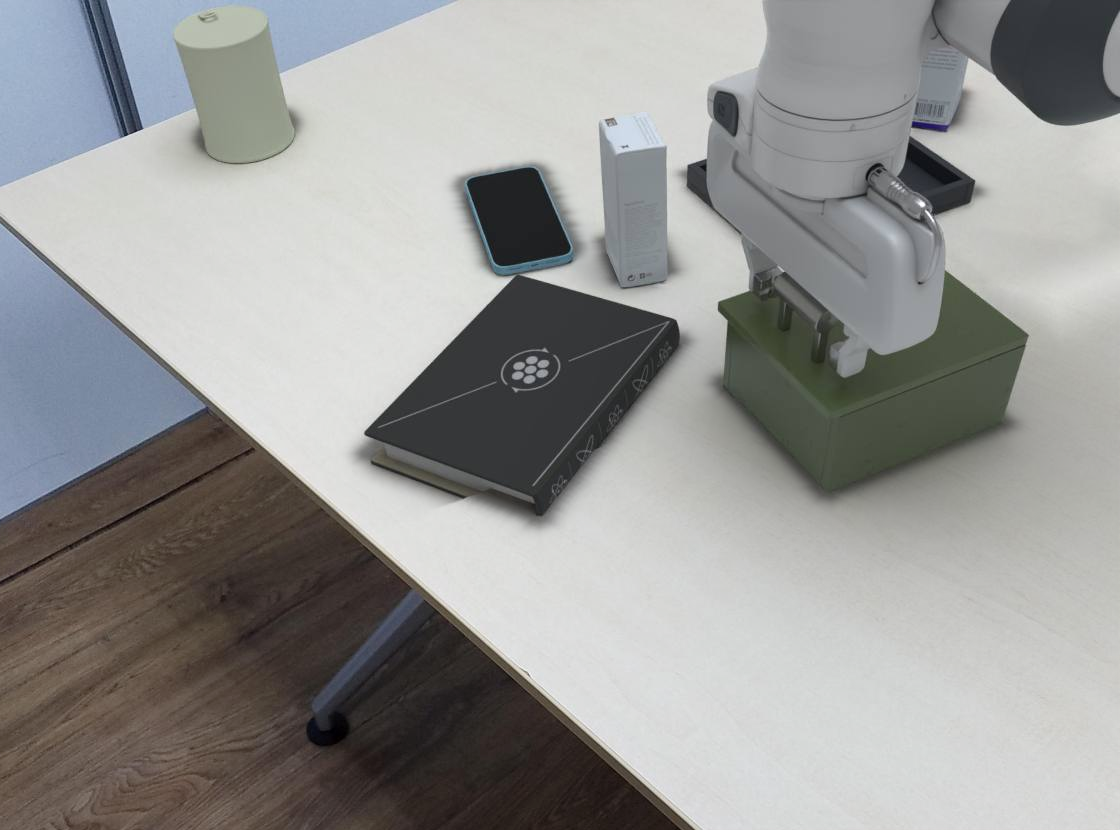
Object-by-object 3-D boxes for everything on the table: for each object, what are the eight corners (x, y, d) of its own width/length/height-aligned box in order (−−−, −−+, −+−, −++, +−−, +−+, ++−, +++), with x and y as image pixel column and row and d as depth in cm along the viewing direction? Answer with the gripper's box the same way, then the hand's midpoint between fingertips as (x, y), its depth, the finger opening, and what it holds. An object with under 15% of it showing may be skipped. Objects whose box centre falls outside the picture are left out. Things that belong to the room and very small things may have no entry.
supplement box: (960, 103, 113) (987, -21, 105) (947, 132, 110) (974, 7, 101) (900, 95, 115) (921, -27, 107) (885, 124, 112) (907, 0, 103)
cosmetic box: (669, 281, 98) (673, 145, 89) (617, 290, 98) (615, 155, 89) (650, 242, 102) (652, 108, 93) (600, 250, 102) (597, 117, 93)
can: (267, 109, 124) (238, -9, 115) (311, 140, 119) (284, 19, 109) (190, 140, 120) (153, 22, 111) (232, 174, 115) (197, 52, 106)
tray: (864, 127, 112) (867, 106, 110) (970, 202, 102) (976, 180, 101) (686, 185, 108) (687, 164, 106) (779, 269, 98) (782, 247, 96)
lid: (828, 421, 74) (838, 358, 70) (717, 310, 82) (720, 249, 78) (1026, 344, 77) (1046, 279, 73) (900, 245, 86) (912, 183, 82)
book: (542, 528, 80) (539, 497, 78) (369, 463, 86) (362, 432, 84) (680, 351, 92) (681, 320, 90) (519, 304, 98) (516, 273, 95)
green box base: (825, 504, 80) (840, 417, 74) (721, 393, 88) (728, 307, 82) (998, 433, 83) (1026, 345, 77) (882, 333, 91) (900, 246, 86)
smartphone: (494, 269, 100) (462, 178, 109) (495, 280, 100) (463, 188, 110) (576, 253, 100) (537, 164, 110) (576, 264, 101) (538, 174, 110)
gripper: (995, 198, 61) (943, 403, 71) (779, 50, 74) (761, 242, 84) (895, 234, 60) (856, 437, 70) (692, 76, 72) (685, 269, 83)
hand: (803, 330), depth 77 cm, fingers open, 8 cm apart
